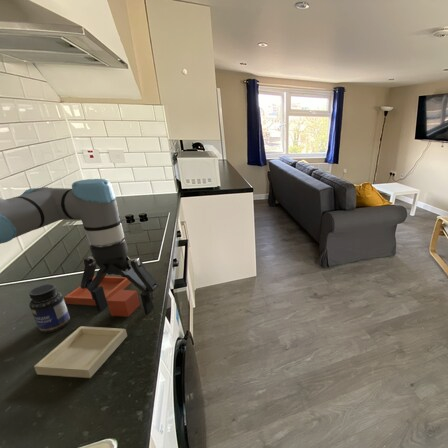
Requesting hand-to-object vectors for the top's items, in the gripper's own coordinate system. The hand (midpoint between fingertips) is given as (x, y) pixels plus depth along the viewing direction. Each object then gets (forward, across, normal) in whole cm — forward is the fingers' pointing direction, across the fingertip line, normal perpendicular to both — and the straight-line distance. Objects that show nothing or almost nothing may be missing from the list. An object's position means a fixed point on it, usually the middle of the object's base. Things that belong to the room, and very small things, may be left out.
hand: (126, 309), depth 74 cm
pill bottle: (0, +14, +7) cm, 16 cm away
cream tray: (0, -1, +15) cm, 15 cm away
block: (0, 0, 0) cm, 0 cm away
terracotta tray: (0, +13, -7) cm, 15 cm away
